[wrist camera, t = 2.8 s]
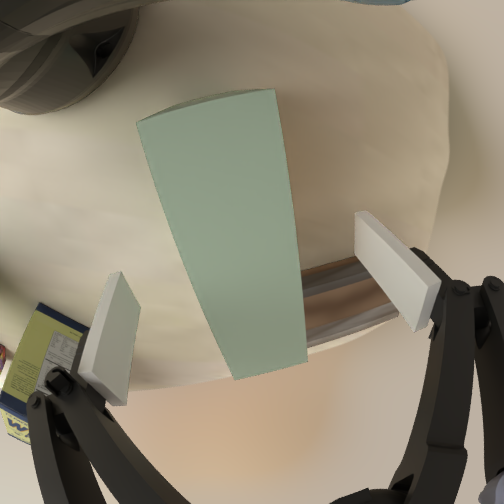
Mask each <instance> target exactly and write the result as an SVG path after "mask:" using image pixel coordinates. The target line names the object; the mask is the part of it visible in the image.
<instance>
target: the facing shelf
mask: <svg viewBox="0 0 504 504" xmlns="http://www.w3.org/2000/svg"><path fill="white" fill-rule="evenodd" d="M300 272H301V282H302V292H303V303H304V315H305V328H306V341H307V348H309V347H312V346H316V345H319V344H322V343H325V342H329V341H332V340H335V339H338V338H341V337H344V336H347V335H350V334H353V333H356V332H358V331H361V330H364V329H367V328H369V327H372V326H375V325H377V324H380V323H383V322H385V321H388V320H390V319H393V318H395V317H398V315H399V311H398V309H397V308H396V307H395V305H394V304H393V303H392V301H391V300H390V299H389V297H388V296H387V295H386V293H385V292H384V291H383V289H382V288H381V287H380V286H379V284H378V283H377V282H376V280H375V279H374V278H373V277H372V275H371V274H370V273H369V272H368V270H367V269H366V268H365V267H364V265H363V264H362V263H361V262H360V260H359V259H358V258H357V257H356V256H355V257H351V258H348V259H344V260H341V261H337V262H333V263H330V264H326V265H322V266H319V267H315V268H311V269H308V270H304V271H300Z"/></svg>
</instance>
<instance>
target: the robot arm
mask: <svg viewBox="0 0 504 504" xmlns="http://www.w3.org/2000/svg"><path fill="white" fill-rule="evenodd" d="M163 1H168V0H0V107H2V108H6V109H9V110H11V111H13V112H15V113H18V114H24V115H39V114H44V113H48V112H53V111H57V110H60V109H63V108H66V107H69V106H71V105H73V104H75V103H77V102H78V101H80V100H82V99H83V98H85V97H86V96H88V95H89V94H90V93H92V92H93V91H94V90H95V89H96V88H98V87H99V86H100V85H101V84H102V83H103V82H104V81H105V80H106V79H107V78H108V77H109V75H110V74H111V73H112V72H113V71H114V69H115V68H116V67H117V65H118V64H119V62H120V61H121V59H122V58H123V56H124V55H125V53H126V51H127V49H128V47H129V45H130V43H131V40H132V38H133V35H134V32H135V29H136V26H137V21H138V13H139V6H143V5H148V4H152V3H157V2H163ZM342 1H348V2H353V3H360V4H367V5H401V4H404V3H406V2H408V1H410V0H342ZM354 254H355V255H356V257H357V258H358V259H359V260H360V262H361V263H362V264H363V265H364V267H365V268H366V269H367V270H368V272H369V273H370V274H371V275H372V277H373V278H374V279H375V280H376V282H377V283H378V284H379V286H380V287H381V288H382V289H383V291H384V292H385V293H386V295H387V296H388V297H389V299H390V300H391V301H392V303H393V304H394V305H395V307H396V308H397V309H398V311H399V312H400V313H401V315H402V316H403V318H404V319H405V320H406V322H407V323H408V325H409V326H410V327H411V329H412V330H413V332H416V331H418V330H421V329H423V328H425V327H426V326H427V325H428V322H429V319H430V318H431V319H432V321H433V322H434V325H433V327H432V330H431V333H430V335H429V339H430V338H431V344H430V351H429V357H428V364H427V369H426V375H425V380H424V385H423V390H422V394H421V398H420V403H419V407H418V411H417V414H416V418H415V422H414V425H413V429H412V432H411V435H410V439H409V442H408V445H407V448H406V451H405V454H404V457H403V459H402V462H401V464H400V465H399V467H398V468H397V470H396V472H395V474H394V476H393V478H392V481H391V483H390V485H389V488H388V489H372V490H369V489H368V488H366V489H363V490H361V491H358V492H355V493H353V494H350V495H347V496H345V497H341V498H339V499H337V500H335V501H333V502H332V503H330V504H454V502H455V499H456V496H457V493H458V490H459V487H460V484H461V481H462V477H463V474H464V470H465V466H466V462H467V456H468V455H467V450H466V449H465V448H464V440H465V435H466V430H467V424H468V418H469V412H470V404H471V396H472V387H473V375H474V358H475V363H476V369H477V375H478V381H479V388H480V396H481V404H482V415H483V429H484V469H485V477H486V484H487V485H486V486H485V488H484V490H483V491H482V492H481V493H480V495H479V498H478V500H479V502H480V503H481V504H504V283H503V282H502V281H501V280H500V279H499V278H497V277H495V276H487V277H486V278H484V281H483V283H482V285H481V286H473V287H470V286H469V285H468V284H467V283H465V282H463V281H461V280H452V279H451V278H450V277H449V276H448V275H447V274H446V273H445V272H444V271H443V270H442V269H441V268H440V267H439V266H438V265H437V264H435V263H434V261H433V260H431V259H430V258H429V257H428V256H427V255H426V254H425V253H424V252H423V251H421V250H419V249H417V248H415V247H413V248H410V249H409V248H408V247H407V246H406V245H405V244H404V243H403V242H402V241H401V240H400V239H398V238H397V237H396V236H395V235H394V234H393V233H392V232H391V231H390V230H389V229H387V228H386V227H385V226H384V225H383V224H382V223H381V222H380V221H378V220H377V219H376V218H375V217H374V216H373V215H371V214H370V213H369V212H368V211H367V210H364V211H360V212H356V213H355V241H354ZM140 309H141V307H140V305H139V303H138V302H137V300H136V298H135V296H134V294H133V293H132V291H131V289H130V287H129V285H128V283H127V282H126V280H125V278H124V276H123V274H122V272H121V271H120V272H116V273H112V274H109V277H108V280H107V282H106V285H105V287H104V290H103V293H102V296H101V298H100V301H99V304H98V307H97V310H96V312H95V315H94V318H93V321H92V324H91V328H90V330H85V332H84V333H83V335H82V336H81V338H80V340H79V343H78V346H77V347H78V348H77V350H76V353H75V354H76V355H75V356H74V360H73V363H72V367H71V370H70V374H69V373H68V372H67V371H66V370H65V369H64V368H63V367H61V366H56V367H54V368H52V369H51V370H50V371H49V372H48V373H47V375H46V377H45V380H44V386H45V387H46V388H47V389H48V390H49V391H50V392H51V393H52V394H50V395H48V396H46V395H44V394H43V393H42V392H41V391H35V392H33V393H32V394H31V395H30V396H29V398H28V400H27V404H26V409H27V420H28V429H29V436H30V443H31V449H32V455H33V460H34V465H35V469H36V474H37V478H38V482H39V486H40V490H41V494H42V497H43V500H44V504H106V501H105V499H104V497H103V495H102V492H101V490H100V488H99V485H98V482H97V480H96V478H95V475H94V472H93V469H92V467H91V464H92V465H93V467H94V468H95V470H96V471H97V473H98V474H99V476H100V478H101V479H102V480H103V482H104V483H105V485H106V486H107V488H108V489H109V490H110V492H111V493H112V494H113V496H114V497H115V498H116V500H117V501H118V502H119V504H191V503H190V502H188V501H187V500H186V499H185V498H184V497H183V496H182V495H181V494H180V493H179V492H178V491H177V490H176V489H175V488H174V487H172V485H171V484H170V483H169V482H168V481H167V480H166V479H165V478H164V477H163V476H162V475H161V474H160V473H159V472H158V471H157V470H156V469H155V468H154V466H153V465H152V464H151V463H150V462H149V461H148V460H147V459H146V458H145V456H144V455H143V454H142V453H141V452H140V450H139V449H138V448H137V447H136V446H135V445H134V443H133V442H132V441H131V439H130V438H129V437H128V436H127V434H126V433H125V432H124V431H123V429H122V428H121V426H120V425H119V424H118V423H117V421H116V420H115V418H114V417H113V416H112V414H111V413H110V411H109V410H108V409H107V408H106V407H105V403H106V401H107V402H109V403H110V404H111V405H112V406H125V405H126V404H127V395H128V386H129V378H130V370H131V363H132V356H133V349H134V343H135V337H136V331H137V325H138V320H139V314H140ZM89 460H90V461H89ZM90 462H91V464H90Z"/></svg>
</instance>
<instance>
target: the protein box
mask: <svg viewBox="0 0 504 504" xmlns="http://www.w3.org/2000/svg"><path fill="white" fill-rule="evenodd" d="M85 330H90V329H89V328H87V327H85V326H83V325H81V324H79V323H77V322H75V321H73V320H71V319H69V318H67V317H65V316H63V315H62V314H60V313H58V312H56V311H54V310H52V309H50V308H49V307H47V306H45V305H43V304H42V303H39V304H38V306H37V308H36V310H35V312H34V313H33V315H32V317H31V319H30V322H29V324H28V326H27V328H26V330H25V332H24V334H23V336H22V339H21V341H20V343H19V346H18V348H17V351H16V353H15V356H14V358H13V361H12V363H11V366H10V368H9V371H8V374H7V376H6V379H5V382H4V385H3V388H2V391H1V394H0V410H1V413H2V417H3V420H4V423H5V426H6V429H7V432H8V434H9V435H10V436H12V437H14V438H16V439H18V440H20V441H22V442H25V443H27V444H29V445H31V443H30V436H29V429H28V420H27V409H26V404H27V400H28V398H29V396H30V395H31V394H32V393H33V392H35V391H41V392H42V393H43V394H44V395H46V396H48V395H50V394H52V393H51V392H50V391H49V390H48V389H47V388H46V387H45V386H44V380H45V377H46V375H47V373H48V372H49V371H50V370H51V369H52V368H54V367H56V366H61V367H63V368H64V369H65V370H66V371H67V372H68V373H69V374H70V370H71V367H72V363H73V360H74V356H75V355H76V354H75V353H76V350H77V348H78V347H77V346H78V343H79V340H80V338H81V336H82V335H83V333H84V332H85Z"/></svg>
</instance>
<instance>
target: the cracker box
mask: <svg viewBox="0 0 504 504" xmlns="http://www.w3.org/2000/svg"><path fill="white" fill-rule="evenodd" d="M136 125H137V128H138V132H139V135H140V139H141V142H142V145H143V149H144V152H145V155H146V159H147V162H148V165H149V168H150V171H151V174H152V177H153V180H154V183H155V186H156V189H157V192H158V195H159V198H160V201H161V204H162V207H163V210H164V213H165V216H166V218H167V221H168V224H169V227H170V229H171V232H172V235H173V238H174V240H175V243H176V246H177V248H178V251H179V253H180V256H181V259H182V261H183V264H184V266H185V269H186V271H187V274H188V276H189V279H190V281H191V284H192V286H193V289H194V291H195V293H196V296H197V298H198V301H199V303H200V305H201V308H202V310H203V312H204V315H205V317H206V319H207V321H208V324H209V326H210V328H211V331H212V333H213V335H214V337H215V339H216V342H217V344H218V346H219V348H220V350H221V352H222V355H223V357H224V359H225V361H226V363H227V365H228V367H229V369H230V372H231V374H232V376H233V378H234V380H238V379H242V378H247V377H251V376H256V375H260V374H264V373H268V372H272V371H276V370H279V369H283V368H287V367H291V366H294V365H298V364H301V363H305V362H308V356H307V341H306V328H305V315H304V303H303V292H302V282H301V272H300V262H299V253H298V244H297V235H296V227H295V218H294V210H293V203H292V195H291V188H290V181H289V174H288V167H287V160H286V153H285V147H284V141H283V134H282V128H281V122H280V117H279V111H278V105H277V99H276V94H275V89H254V90H239V91H231V92H226V93H222V94H217V95H213V96H208V97H204V98H200V99H196V100H192V101H189V102H185V103H181V104H178V105H174V106H172V107H169V108H167V109H165V110H162V111H160V112H158V113H156V114H153V115H151V116H149V117H147V118H145V119H143V120H140V121H138V122H136Z"/></svg>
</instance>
